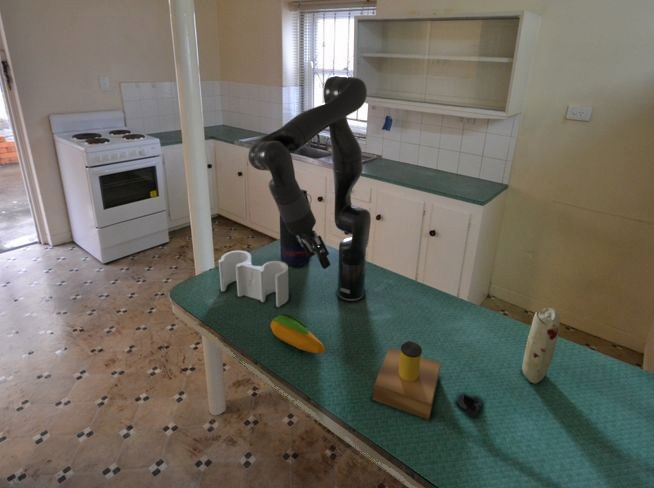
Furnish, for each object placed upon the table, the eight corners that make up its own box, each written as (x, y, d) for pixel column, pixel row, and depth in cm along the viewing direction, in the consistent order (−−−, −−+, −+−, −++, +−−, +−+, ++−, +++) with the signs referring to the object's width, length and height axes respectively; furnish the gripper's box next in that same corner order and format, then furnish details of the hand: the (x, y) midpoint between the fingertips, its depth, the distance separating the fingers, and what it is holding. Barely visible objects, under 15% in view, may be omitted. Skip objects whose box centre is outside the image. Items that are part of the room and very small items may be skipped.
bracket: (294, 293, 142) (293, 263, 138) (280, 309, 133) (279, 277, 129) (234, 276, 151) (232, 247, 146) (218, 290, 142) (215, 260, 138)
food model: (545, 391, 105) (562, 329, 98) (517, 380, 108) (532, 319, 101) (548, 367, 113) (565, 308, 106) (523, 357, 116) (537, 299, 109)
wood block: (388, 361, 113) (389, 347, 111) (438, 377, 108) (440, 362, 107) (372, 399, 101) (374, 384, 99) (429, 419, 96) (431, 404, 94)
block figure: (462, 384, 103) (485, 394, 101) (461, 391, 104) (483, 401, 101) (455, 401, 99) (479, 412, 96) (454, 408, 99) (477, 419, 97)
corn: (280, 303, 124) (333, 331, 113) (282, 323, 127) (333, 351, 116) (263, 317, 118) (316, 347, 107) (265, 337, 121) (317, 368, 110)
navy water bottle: (298, 271, 155) (298, 199, 145) (274, 262, 161) (272, 192, 150) (318, 256, 167) (319, 188, 156) (295, 248, 172) (294, 182, 162)
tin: (403, 363, 106) (405, 338, 103) (421, 371, 104) (424, 346, 101) (394, 375, 102) (397, 350, 99) (413, 384, 100) (417, 359, 97)
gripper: (320, 211, 98) (343, 262, 105) (296, 198, 110) (318, 244, 117) (295, 228, 95) (320, 279, 102) (273, 212, 107) (297, 259, 114)
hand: (319, 261), depth 109 cm, fingers open, 8 cm apart
